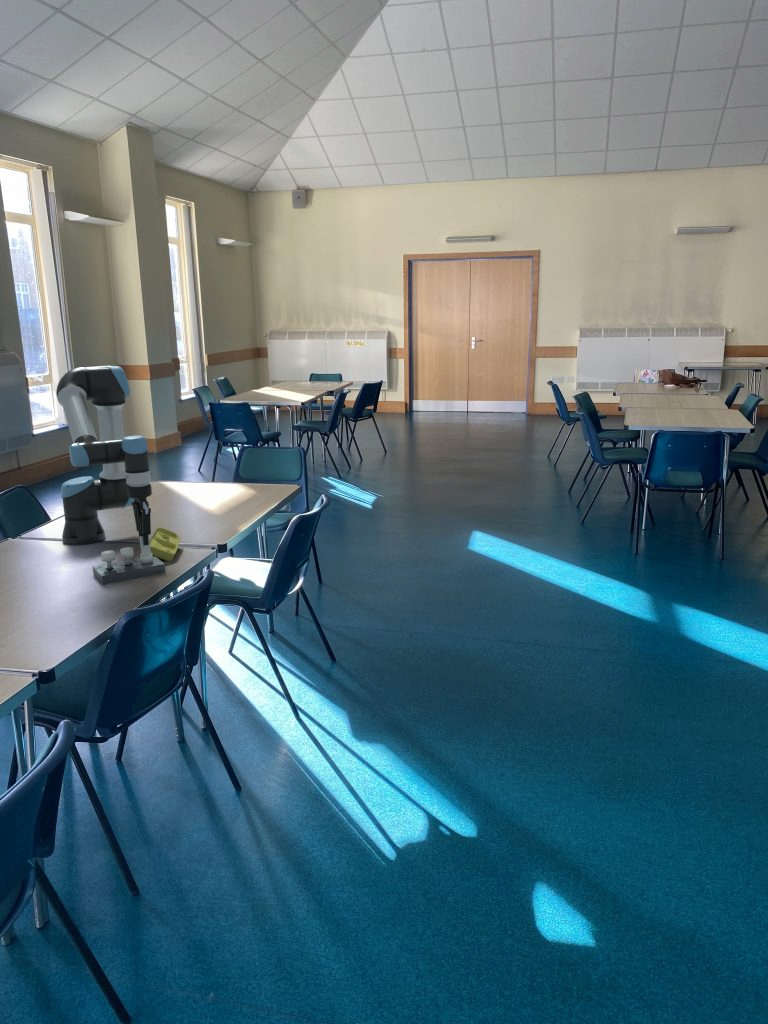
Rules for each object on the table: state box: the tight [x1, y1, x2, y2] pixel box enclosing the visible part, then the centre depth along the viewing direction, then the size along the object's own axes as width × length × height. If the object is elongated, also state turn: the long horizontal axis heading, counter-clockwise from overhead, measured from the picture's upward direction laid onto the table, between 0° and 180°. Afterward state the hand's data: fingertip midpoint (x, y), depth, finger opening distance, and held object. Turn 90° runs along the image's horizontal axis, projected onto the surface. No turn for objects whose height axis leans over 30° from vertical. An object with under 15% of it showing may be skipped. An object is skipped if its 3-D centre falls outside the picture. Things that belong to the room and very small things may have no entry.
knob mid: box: [119, 546, 135, 565], centre depth 246 cm, size 4×4×5 cm
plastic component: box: [149, 526, 181, 562], centre depth 267 cm, size 20×7×10 cm
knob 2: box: [139, 553, 153, 563], centre depth 250 cm, size 4×4×5 cm
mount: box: [92, 555, 166, 586], centre depth 247 cm, size 12×20×3 cm, turn 124°
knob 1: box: [100, 550, 116, 569], centre depth 243 cm, size 4×4×5 cm
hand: (146, 553), depth 249 cm, fingers closed
